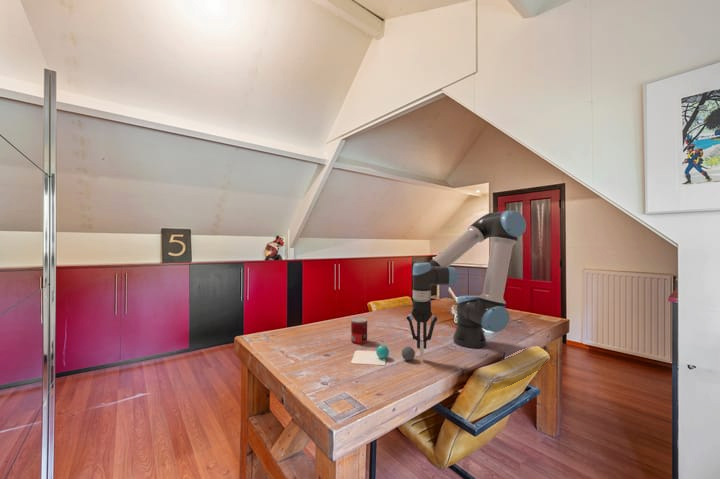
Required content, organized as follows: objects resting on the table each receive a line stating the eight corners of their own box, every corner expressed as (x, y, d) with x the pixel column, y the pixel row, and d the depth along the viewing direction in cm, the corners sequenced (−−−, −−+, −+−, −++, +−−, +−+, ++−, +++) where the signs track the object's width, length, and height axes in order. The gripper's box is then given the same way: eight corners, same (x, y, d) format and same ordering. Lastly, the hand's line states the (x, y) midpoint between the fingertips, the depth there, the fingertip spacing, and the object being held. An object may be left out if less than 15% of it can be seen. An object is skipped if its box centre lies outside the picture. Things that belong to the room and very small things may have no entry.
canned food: (365, 345, 142) (365, 322, 142) (349, 343, 144) (349, 321, 144) (368, 339, 150) (368, 318, 150) (353, 338, 151) (353, 317, 151)
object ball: (386, 341, 129) (374, 345, 130) (385, 346, 123) (373, 350, 124) (391, 353, 129) (379, 357, 129) (390, 358, 123) (378, 362, 124)
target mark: (386, 352, 133) (386, 351, 133) (385, 365, 119) (385, 365, 119) (355, 350, 135) (355, 350, 135) (350, 363, 121) (350, 363, 121)
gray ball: (403, 343, 127) (399, 355, 128) (404, 348, 122) (400, 360, 122) (415, 346, 127) (412, 358, 127) (417, 352, 121) (413, 364, 122)
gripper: (406, 301, 121) (406, 358, 121) (438, 302, 120) (438, 360, 120) (405, 297, 129) (405, 351, 129) (436, 298, 127) (436, 353, 127)
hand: (421, 355), depth 124 cm, fingers closed
